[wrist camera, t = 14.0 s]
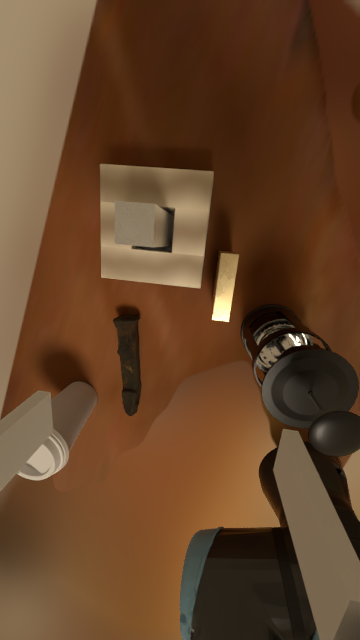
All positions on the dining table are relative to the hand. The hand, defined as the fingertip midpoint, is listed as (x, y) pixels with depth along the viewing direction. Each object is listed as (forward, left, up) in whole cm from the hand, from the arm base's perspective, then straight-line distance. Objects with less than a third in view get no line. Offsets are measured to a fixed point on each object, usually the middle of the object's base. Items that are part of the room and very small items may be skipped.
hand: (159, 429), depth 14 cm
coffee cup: (-21, +20, -28) cm, 40 cm away
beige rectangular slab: (+5, -4, -28) cm, 29 cm away
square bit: (+11, +6, -26) cm, 29 cm away
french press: (-3, -13, -28) cm, 31 cm away
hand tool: (-12, +9, -29) cm, 32 cm away
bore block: (+11, +6, -28) cm, 31 cm away
